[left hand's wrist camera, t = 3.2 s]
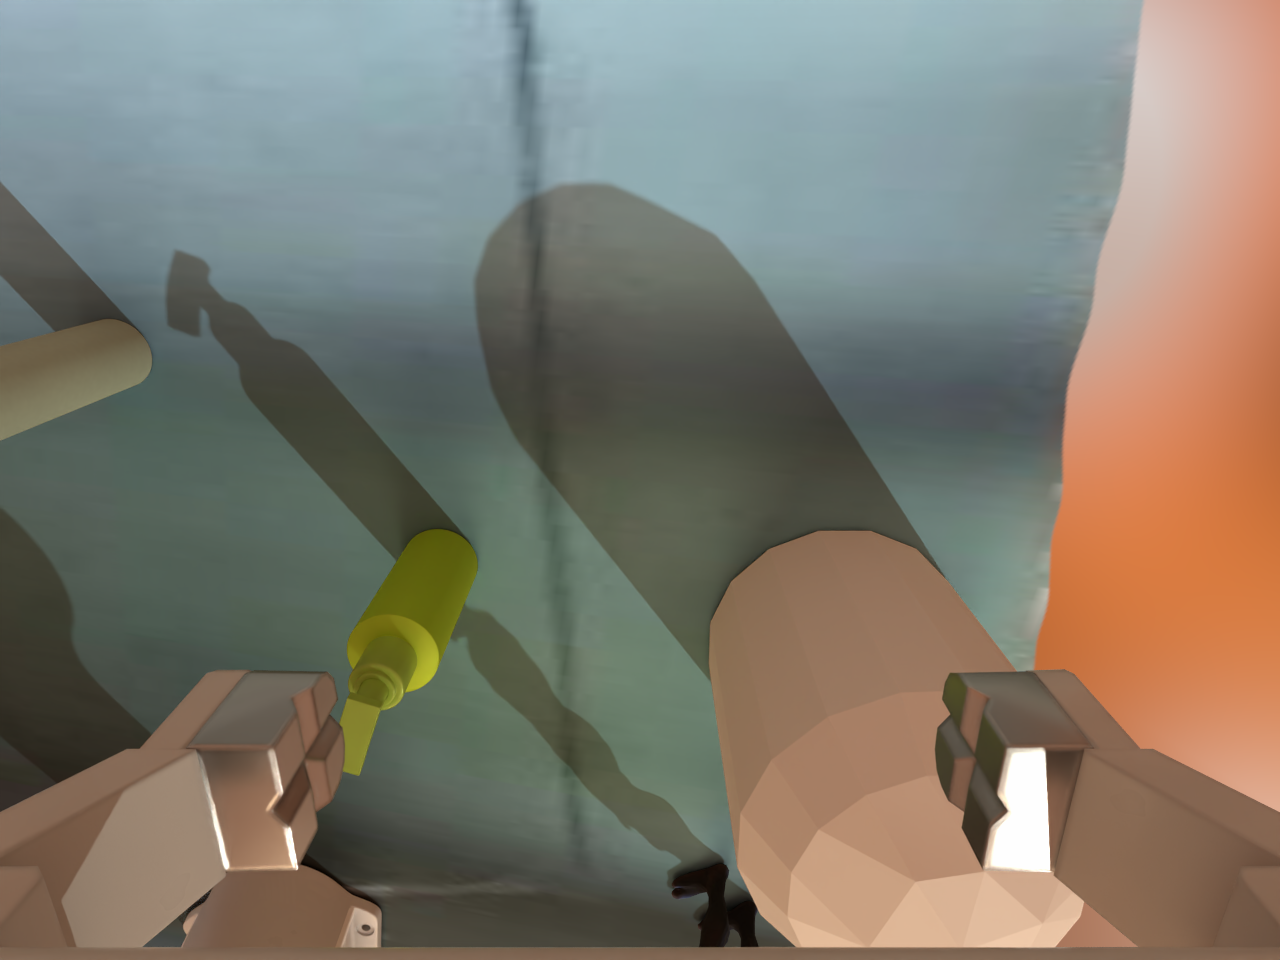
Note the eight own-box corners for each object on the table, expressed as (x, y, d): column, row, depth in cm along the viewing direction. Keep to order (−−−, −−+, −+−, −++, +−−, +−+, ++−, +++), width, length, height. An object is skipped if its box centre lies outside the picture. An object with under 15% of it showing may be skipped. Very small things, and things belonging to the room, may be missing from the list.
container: (998, 552, 63) (1255, 819, 37) (913, 765, 70) (1077, 1114, 44) (741, 504, 61) (816, 748, 35) (682, 727, 69) (708, 1065, 42)
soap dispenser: (392, 592, 64) (289, 762, 45) (414, 518, 62) (316, 666, 43) (462, 614, 65) (390, 792, 46) (487, 543, 62) (421, 698, 44)
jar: (157, 389, 58) (-48, 478, 41) (88, 383, 58) (-147, 471, 41) (147, 321, 56) (-71, 384, 39) (76, 315, 56) (-174, 376, 39)
